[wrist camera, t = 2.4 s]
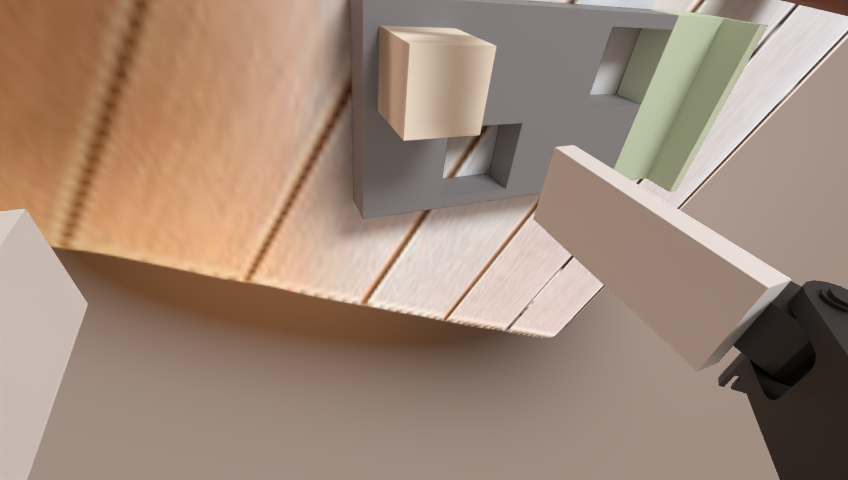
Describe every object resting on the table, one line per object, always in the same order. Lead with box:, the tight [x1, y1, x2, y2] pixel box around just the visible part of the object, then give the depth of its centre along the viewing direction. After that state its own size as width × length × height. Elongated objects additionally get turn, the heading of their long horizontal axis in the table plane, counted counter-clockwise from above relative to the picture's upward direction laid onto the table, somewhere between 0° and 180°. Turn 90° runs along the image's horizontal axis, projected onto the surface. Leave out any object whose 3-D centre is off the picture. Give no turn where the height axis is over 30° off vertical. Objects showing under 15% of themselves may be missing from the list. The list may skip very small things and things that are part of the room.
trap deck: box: [350, 0, 768, 219], centre depth 32 cm, size 32×15×6 cm, turn 85°
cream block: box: [378, 25, 497, 141], centre depth 23 cm, size 5×5×5 cm
